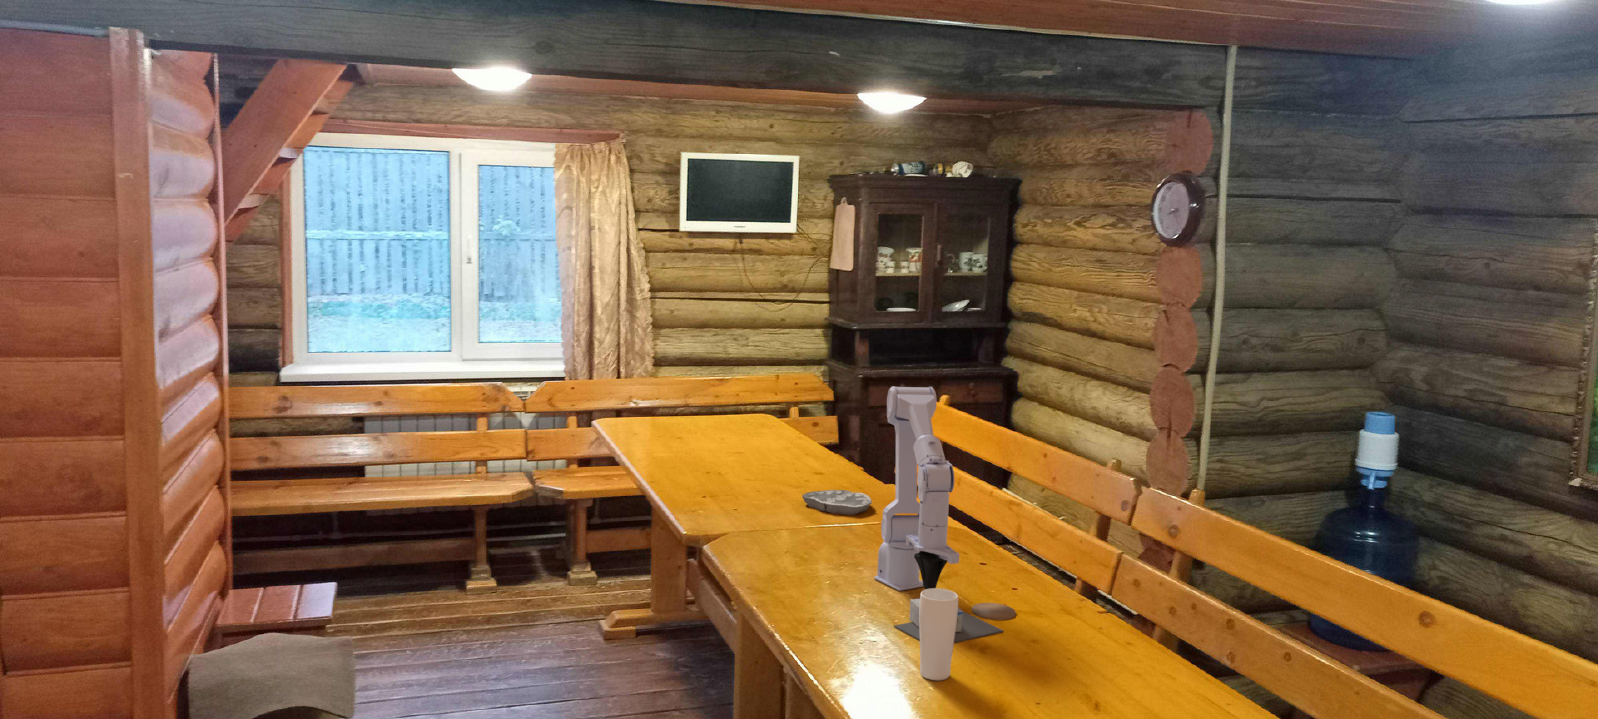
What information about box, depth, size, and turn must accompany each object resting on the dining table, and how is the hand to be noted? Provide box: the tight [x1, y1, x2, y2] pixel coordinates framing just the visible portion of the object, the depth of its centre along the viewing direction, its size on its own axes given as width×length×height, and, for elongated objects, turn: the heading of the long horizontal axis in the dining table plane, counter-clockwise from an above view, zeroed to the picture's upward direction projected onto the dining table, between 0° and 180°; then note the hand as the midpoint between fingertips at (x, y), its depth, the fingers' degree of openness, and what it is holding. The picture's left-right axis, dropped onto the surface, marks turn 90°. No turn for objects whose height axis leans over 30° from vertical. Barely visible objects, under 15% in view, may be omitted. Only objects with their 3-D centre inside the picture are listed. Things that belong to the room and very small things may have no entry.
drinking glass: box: [919, 587, 959, 682], centre depth 200 cm, size 7×7×15 cm
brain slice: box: [801, 489, 873, 516], centre depth 315 cm, size 20×17×3 cm
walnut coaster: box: [971, 602, 1017, 621], centre depth 235 cm, size 9×9×1 cm
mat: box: [893, 610, 1004, 644], centre depth 224 cm, size 12×18×1 cm, turn 123°
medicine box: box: [908, 598, 963, 632], centre depth 225 cm, size 8×4×9 cm
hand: (929, 588), depth 229 cm, fingers closed
